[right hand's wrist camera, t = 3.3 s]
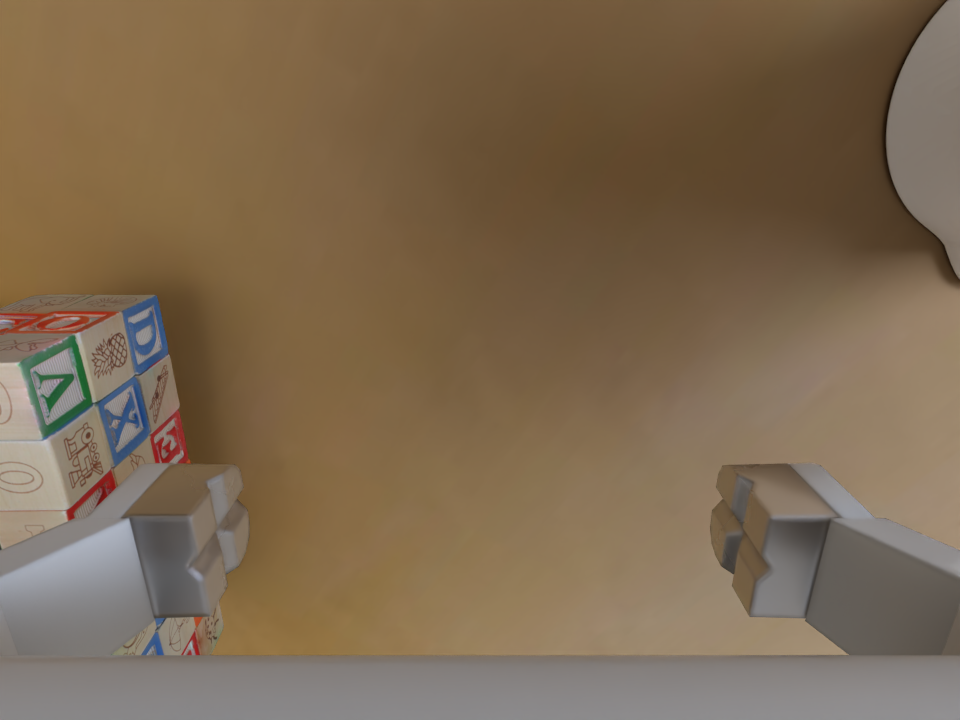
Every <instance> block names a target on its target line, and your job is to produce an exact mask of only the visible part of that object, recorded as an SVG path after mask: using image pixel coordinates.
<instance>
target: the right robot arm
mask: <svg viewBox="0 0 960 720" xmlns="http://www.w3.org/2000/svg"><path fill="white" fill-rule="evenodd" d="M886 151H887V160H888V166H889V170H890V174H891V178H892V181H893V183H894V186H895V188H896V191H897V193H898V195H899V197H900V198H901V200H902V202H903V203H904V205H905V206H906V208H907V209H908V210H909V211H910V213H911V214H912V215H913V216H914V217H915V218H916V219H917V220H918V221H919V222H920V223H921V224H923V225H924V226H925V227H926V228H928V229H929V230H930V231H931V232H932V233H934V234H935V235H936V236H937V237H938V238H939V239H940V240H941V242H942V243H943V244H944V246H945V249H946V252H947V254H948V257H949V260H950V263H951V265H952V267H953V270H954V272H955V273H956V275H957V277H958V278H959V279H960V0H947V1H946V2H945V4H944V5H943V6H942V7H941V8H940V9H939V10H938V12H937V13H936V14H935V15H934V16H933V18H932V19H931V20H930V22H929V23H928V24H927V25H926V27H925V28H924V30H923V31H922V33H921V34H920V36H919V37H918V39H917V41H916V42H915V44H914V46H913V47H912V49H911V51H910V53H909V55H908V57H907V58H906V61H905V63H904V65H903V67H902V69H901V72H900V74H899V77H898V79H897V82H896V85H895V88H894V91H893V95H892V99H891V102H890V107H889V112H888V119H887V128H886ZM243 488H244V485H243V480H242V475H241V471H240V469H239V468H238V467H237V466H236V465H235V464H187V463H177V464H175V463H148V464H141V465H140V466H138V467H137V468H136V469H135V470H134V471H133V472H132V473H131V474H130V475H129V476H128V477H127V478H126V479H125V480H124V481H123V482H122V483H121V484H120V485H119V486H118V487H117V488H116V489H115V490H114V491H112V492H111V493H110V494H109V495H108V496H107V497H106V498H105V499H104V500H103V501H102V502H101V503H100V504H99V505H98V506H97V507H96V508H95V509H94V510H93V511H92V512H91V513H90V514H89V515H88V516H86V517H85V518H74V519H72V520H70V521H67V522H65V523H63V524H60V525H58V526H56V527H53V528H51V529H49V530H46V531H44V532H42V533H39V534H37V535H35V536H32V537H30V538H28V539H25V540H23V541H21V542H19V543H16V544H14V545H12V546H9V547H7V548H5V549H2V550H0V720H960V550H958V549H955V548H953V547H951V546H948V545H946V544H944V543H941V542H939V541H937V540H934V539H932V538H930V537H927V536H925V535H923V534H921V533H918V532H916V531H914V530H911V529H909V528H907V527H904V526H902V525H900V524H897V523H895V522H893V521H890V520H888V519H886V518H875V517H874V516H873V515H871V514H870V513H869V512H868V511H867V510H866V509H865V508H864V507H863V506H862V505H861V504H860V503H859V502H858V501H857V500H856V499H855V498H854V497H853V496H852V495H851V494H850V493H849V492H848V491H847V490H846V489H845V488H843V487H842V486H841V485H840V484H839V483H838V482H837V481H836V480H835V479H834V478H833V477H832V476H831V475H830V474H829V473H828V472H827V471H826V470H825V469H824V468H823V467H822V466H821V465H818V464H815V463H790V464H749V465H724V466H722V468H721V470H720V472H719V474H718V479H717V485H716V488H717V490H718V491H719V493H720V494H721V496H722V497H723V499H722V501H721V502H720V503H719V504H718V505H717V506H716V507H715V508H714V509H713V510H712V516H711V524H710V531H711V541H712V546H713V549H714V552H715V556H716V557H717V559H718V561H719V563H720V565H721V566H722V567H723V568H725V569H726V570H728V571H729V572H731V573H732V574H734V578H733V583H732V587H733V588H734V590H735V592H736V594H737V595H738V597H739V599H740V601H741V602H742V604H743V606H744V608H745V609H746V611H747V613H748V615H749V616H750V617H776V618H806V619H805V621H806V622H807V623H809V624H810V625H811V626H813V627H814V628H815V629H816V630H818V631H819V632H820V633H822V634H823V635H824V636H826V637H827V638H828V639H829V640H831V641H832V642H833V643H835V644H836V645H837V646H838V647H840V648H841V649H842V650H844V651H845V652H846V653H847V654H849V655H111V654H113V653H114V652H115V651H117V650H118V649H119V648H120V647H122V646H123V645H124V644H126V643H127V642H128V641H130V640H131V639H132V638H133V637H135V636H136V635H137V634H139V633H140V632H141V631H142V630H144V629H145V628H146V627H148V626H149V625H150V624H152V623H153V622H154V621H155V620H154V618H183V617H211V615H212V613H213V611H214V610H215V608H216V606H217V604H218V602H219V601H220V599H221V597H222V595H223V594H224V592H225V590H226V588H227V587H228V583H227V578H226V574H228V573H229V572H231V571H232V570H234V569H235V568H237V567H238V566H239V565H240V563H241V561H242V559H243V557H244V555H245V553H246V549H247V545H248V540H249V528H250V522H249V515H248V510H247V509H246V508H245V507H244V506H243V505H242V504H241V503H240V502H239V501H238V499H237V497H238V496H239V494H240V493H241V491H242V490H243Z"/></svg>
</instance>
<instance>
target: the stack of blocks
mask: <svg viewBox="0 0 960 720" xmlns="http://www.w3.org/2000/svg"><path fill="white" fill-rule="evenodd" d="M179 406H180V403H179V398H178V394H177V389H176V384H175V379H174V374H173V369H172V363H171V359H170V355H169V353H168V345H167V340H166V336H165V330H164V326H163V322H162V316H161V312H160V307H159V302H158V298H157V295H87V294H58V295H36V296H32V297H28V298H26V299H23V300H20V301H18V302H15V303H13V304H10V305H8V306H6V307H3V308H1V309H0V550H2V549H5V548H7V547H9V546H12V545H14V544H16V543H19V542H21V541H23V540H25V539H28V538H30V537H32V536H35V535H37V534H39V533H42V532H44V531H46V530H49V529H51V528H53V527H56V526H58V525H60V524H63V523H65V522H67V521H70V520H72V519H74V518H85V517H86V516H88V515H89V514H90V513H91V512H92V511H93V510H94V509H95V508H96V507H97V506H98V505H99V504H100V503H101V502H102V501H103V500H104V499H105V498H106V497H107V496H108V495H109V494H110V493H111V492H112V491H114V490H115V489H116V488H117V487H118V486H119V485H120V484H121V483H122V482H123V481H124V480H125V479H126V478H127V477H128V476H129V475H130V474H131V473H132V472H133V471H134V470H135V469H136V468H137V467H138V466H140V465H141V464H148V463H175V464H177V463H187V464H191V462H190V460H189V458H188V452H187V448H186V441H185V437H184V432H183V428H182V422H181V418H180V413H179V411H178V408H179ZM154 620H155V621H154V622H153V623H152V624H150V625H149V626H148V627H146V628H145V629H144V630H142V631H141V632H140V633H139V634H137V635H136V636H135V637H133V638H132V639H131V640H130V641H128V642H127V643H126V644H124V645H123V646H122V647H120V648H119V649H118V650H117V651H115V652H114V653H113V654H111V655H211V654H212V652H213V650H214V648H215V645H216V643H217V641H218V639H219V637H220V634H221V632H222V630H223V627H224V624H223V619H222V614H221V609H220V604H219V602H218V604H217V606H216V608H215V610H214V611H213V613H212V615H211V617H183V618H154Z"/></svg>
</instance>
